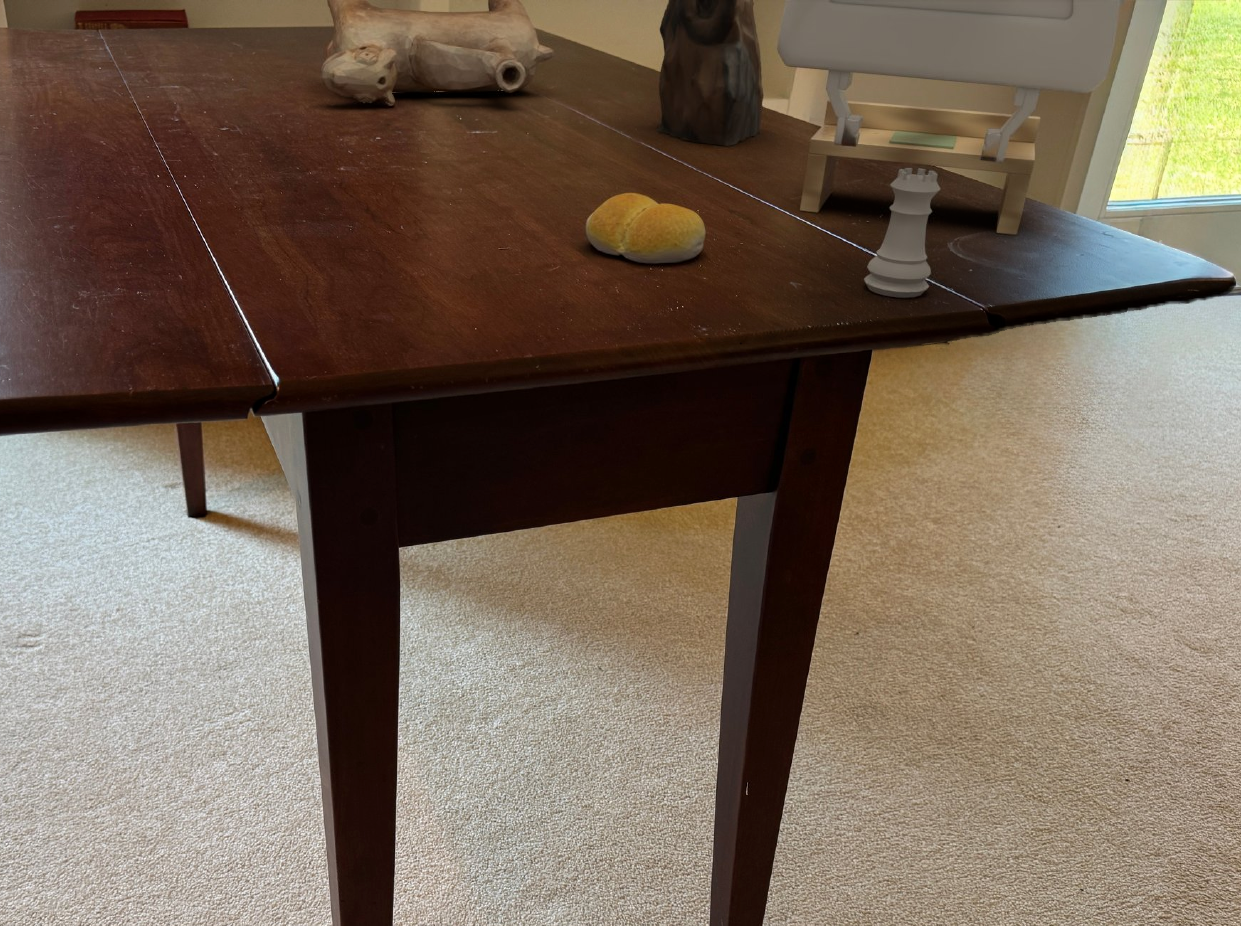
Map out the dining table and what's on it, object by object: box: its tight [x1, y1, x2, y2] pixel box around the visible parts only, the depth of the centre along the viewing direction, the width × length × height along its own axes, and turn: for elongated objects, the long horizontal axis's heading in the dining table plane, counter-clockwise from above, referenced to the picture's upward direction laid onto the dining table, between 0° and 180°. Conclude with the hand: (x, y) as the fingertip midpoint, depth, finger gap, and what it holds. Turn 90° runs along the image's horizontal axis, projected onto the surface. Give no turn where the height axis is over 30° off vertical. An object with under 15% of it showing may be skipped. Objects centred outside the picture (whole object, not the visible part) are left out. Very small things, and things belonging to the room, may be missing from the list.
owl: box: [656, 0, 765, 147], centre depth 125 cm, size 13×13×20 cm
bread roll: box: [585, 192, 707, 264], centre depth 87 cm, size 8×9×4 cm
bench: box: [799, 98, 1041, 236], centre depth 99 cm, size 18×9×8 cm, turn 69°
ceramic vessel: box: [320, 0, 556, 104], centre depth 146 cm, size 13×31×25 cm
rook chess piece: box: [863, 167, 941, 299], centre depth 79 cm, size 4×4×8 cm
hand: (917, 152), depth 76 cm, fingers open, 8 cm apart
